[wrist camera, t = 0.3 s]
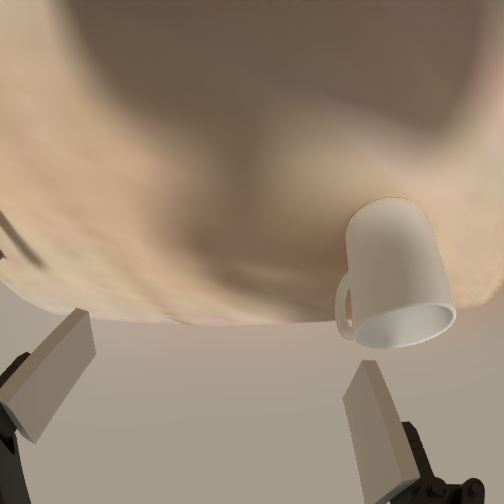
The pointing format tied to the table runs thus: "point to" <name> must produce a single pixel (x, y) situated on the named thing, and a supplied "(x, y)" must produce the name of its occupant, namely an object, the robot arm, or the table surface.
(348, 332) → the cup
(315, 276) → the table surface
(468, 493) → the robot arm
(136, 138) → the table surface
